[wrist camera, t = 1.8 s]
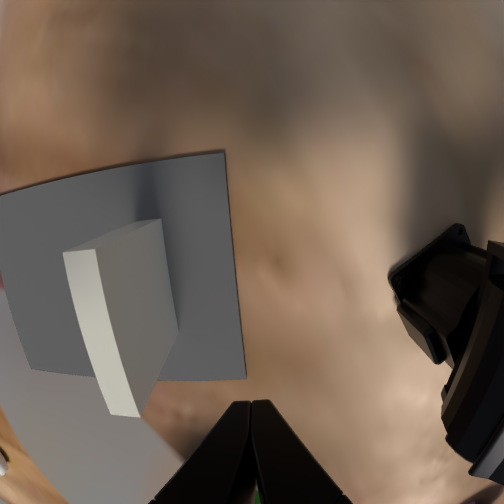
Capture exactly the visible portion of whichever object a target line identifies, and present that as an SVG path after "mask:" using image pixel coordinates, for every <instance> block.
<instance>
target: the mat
mask: <svg viewBox="0 0 504 504" xmlns="http://www.w3.org/2000/svg"><path fill="white" fill-rule="evenodd" d="M160 218H161V220H162V228H163V236H164V244H165V251H166V258H167V265H168V272H169V278H170V285H171V291H172V297H173V303H174V308H175V314H176V319H177V325H178V330H179V333H178V335H177V337H176V339H175V341H174V344H173V346H172V348H171V350H170V352H169V354H168V357H167V359H166V361H165V363H164V365H163V368H162V370H161V372H160V374H159V376H158V379H157V381H213V380H239V379H246V367H245V358H244V350H243V340H242V331H241V322H240V313H239V303H238V293H237V284H236V274H235V264H234V253H233V243H232V233H231V222H230V211H229V200H228V189H227V177H226V166H225V154H224V153H216V154H207V155H198V156H190V157H182V158H175V159H168V160H161V161H154V162H148V163H142V164H136V165H130V166H124V167H119V168H113V169H108V170H103V171H98V172H93V173H88V174H84V175H79V176H74V177H70V178H66V179H61V180H57V181H53V182H49V183H45V184H41V185H37V186H33V187H30V188H26V189H22V190H19V191H15V192H12V193H8V194H5V195H1V196H0V271H1V275H2V280H3V284H4V288H5V292H6V295H7V299H8V302H9V306H10V310H11V313H12V316H13V320H14V323H15V326H16V329H17V332H18V335H19V338H20V341H21V343H22V346H23V349H24V352H25V354H26V357H27V360H28V362H29V365H30V367H31V369H35V370H42V371H49V372H56V373H64V374H71V375H81V376H91V377H96V375H95V372H94V370H93V367H92V364H91V361H90V358H89V355H88V352H87V349H86V346H85V342H84V339H83V336H82V332H81V329H80V326H79V322H78V318H77V315H76V311H75V307H74V303H73V299H72V295H71V291H70V287H69V282H68V278H67V273H66V268H65V263H64V258H63V252H65V251H67V250H69V249H71V248H74V247H76V246H78V245H81V244H83V243H85V242H88V241H90V240H93V239H95V238H97V237H100V236H102V235H105V234H107V233H110V232H112V231H114V230H117V229H119V228H122V227H124V226H127V225H130V224H132V223H135V222H137V221H143V220H151V219H160Z"/></svg>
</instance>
